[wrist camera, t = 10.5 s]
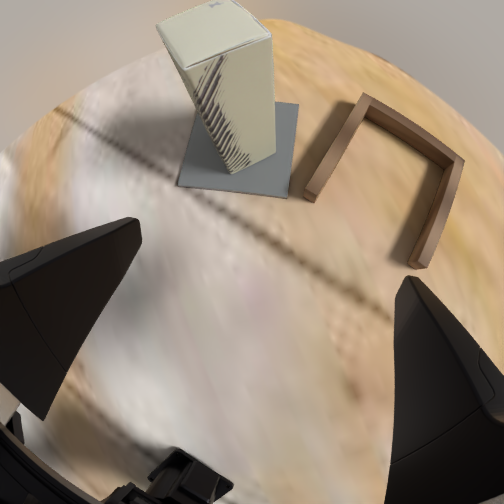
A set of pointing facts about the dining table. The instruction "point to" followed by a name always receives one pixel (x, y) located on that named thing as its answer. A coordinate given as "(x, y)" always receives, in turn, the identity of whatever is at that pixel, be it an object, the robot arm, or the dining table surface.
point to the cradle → (416, 139)
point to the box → (227, 77)
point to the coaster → (248, 179)
